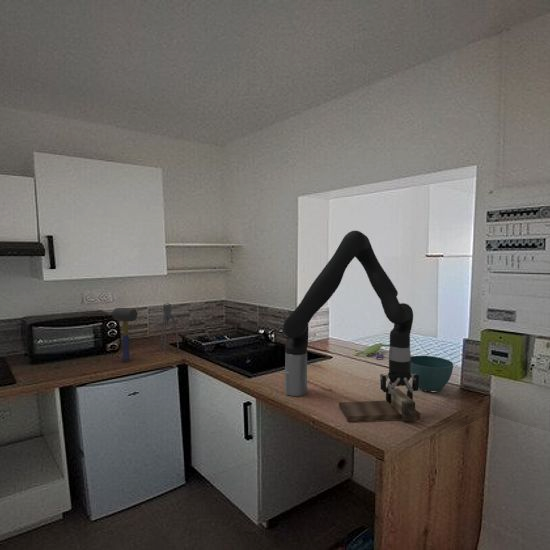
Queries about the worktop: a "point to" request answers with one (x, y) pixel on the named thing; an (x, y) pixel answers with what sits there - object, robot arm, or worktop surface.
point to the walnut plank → (370, 411)
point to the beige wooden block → (403, 405)
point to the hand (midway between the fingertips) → (399, 402)
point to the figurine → (374, 350)
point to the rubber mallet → (125, 327)
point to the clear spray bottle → (166, 317)
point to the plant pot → (431, 371)
